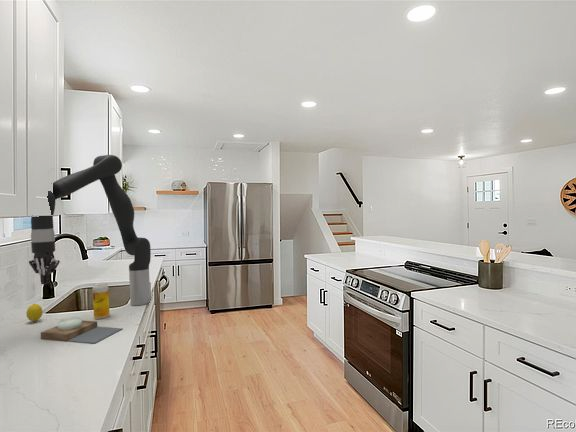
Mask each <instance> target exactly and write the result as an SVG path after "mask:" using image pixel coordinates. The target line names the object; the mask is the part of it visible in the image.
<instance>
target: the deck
mask: <svg viewBox="0 0 576 432" xmlns="http://www.w3.org/2000/svg"><path fill="white" fill-rule="evenodd" d="M96 327H98V321H97V320H84V319H82V326H80V327H78V328H75V329H72V330H65V331H60V330H58V327H57V325H56V326H53V327H52V328H49V329H45V330H44V331H41V332H40V340H48V341H59V342H68V340H70V339H72V338H74V337H76V336H79V335H81V334H83V333H85V332H87V331H89V330H92V329H94V328H96Z"/></svg>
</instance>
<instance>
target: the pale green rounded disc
mask: <svg viewBox="0 0 576 432" xmlns="http://www.w3.org/2000/svg"><path fill="white" fill-rule="evenodd" d="M82 320H83V318H82V317H80V316H75V317H74V316H73V317H68V318H67V317H66V318H63V319H61V320H59V321H57V325H56V326H57V327H58V330H60V331H65V330H72V329H75V328H78V327H80V326H82Z"/></svg>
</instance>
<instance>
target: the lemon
mask: <svg viewBox="0 0 576 432" xmlns="http://www.w3.org/2000/svg"><path fill="white" fill-rule="evenodd" d="M43 312H44V311H43V307H42V306H41V305H40V304H37V303H32V304H31V305H29V306H28V308H27V310H26V318H27V319H28V320H29V321H32V322H33V323H36V322H37V321H38V320H39V319H41V318H42V317H43V314H44V313H43Z"/></svg>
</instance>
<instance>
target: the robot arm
mask: <svg viewBox="0 0 576 432" xmlns="http://www.w3.org/2000/svg"><path fill="white" fill-rule="evenodd" d="M122 167H123V162H122V160H121V159H120V158H119V157H118V156H117V155H113V154H105V155H103V154H102V155H98V156H96V157H95V158H94V160H93V164H92V166H90V167H87V168H85V169H82V170H79V171H76V172H74V173H70V174H68V175H66V176H63V177H61V178H59V179H58V180H55V181H53V182H52V183H53V193H52V192H51V191H48V196H47V198H48V202H49V206H50V210H51V215H53V216H39V217H32V216H31V217H30V225H31V227H30V228H31V232H30V243H31V245H30V246H31V253H32V254H33V259H31V260H29V261H28V263H29V265H30V266H31V268H32V270H33V271H34V273H35V274H38V275H39V277H40V283H41V285H49V284H50V283H51V282H50V281H51V279H50V275H51V274H52V273H55V271H56V269H57V267H58V266H59V264H60V263H61V261H60V260H57V259H56V258H55V255H54V252H55V251H56V237H55V236H56V235H55V231H54V214H55V209H56V200H58V199H61V198H64V197H68V196H70V195H72V194H73V193H75V192H77V191H79V190H80V189H83V188H85V187H87V186H89V185H90V184H92V183H95V182H97V181H99V182H100V184H101V186H102V188H103V190H104V192H105V195H106V198H107V200H108V203H109V206H110V209H111V211H112V214H113V216H114V218H115V221H116V223H117V226H118V227H117V228H118V230H119V232H120V236H121V240H122V244H123V247H124V251H125V252H126V254H128V255H130V256H133V257H134V260H133V262H131V263H129V265H128V273H129V274H128V277H129V298H130V299H129V300H130V301H129V303H130V305H131V306H143V305H147V304H149V303H151V301H152V283H151V281H150V264H151V253H152V252H151V248H152V247H151V243H150V241H149V240H148V238H145V237H138V235H137V233H136V231H135V227H134V221H135V209H134V205H133V203H132V201H131V198H130V197H129V195H128V194H127V192H126V191H125V190H124V189H123V188H122V187H121V185H120V183H119V182H118V180H117V177H116V175H117V174H118V173H120V171H121V170H122Z"/></svg>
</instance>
